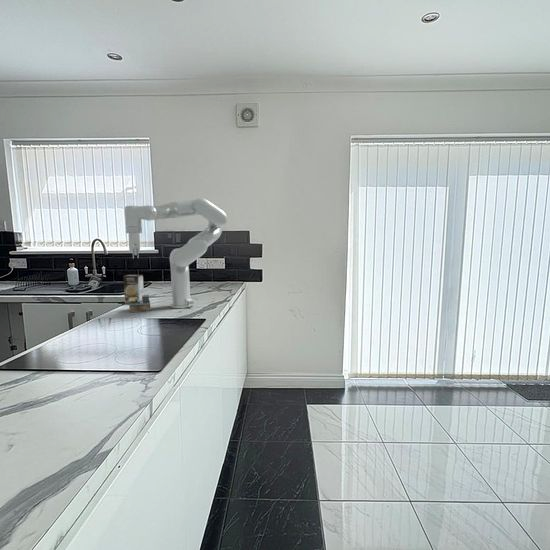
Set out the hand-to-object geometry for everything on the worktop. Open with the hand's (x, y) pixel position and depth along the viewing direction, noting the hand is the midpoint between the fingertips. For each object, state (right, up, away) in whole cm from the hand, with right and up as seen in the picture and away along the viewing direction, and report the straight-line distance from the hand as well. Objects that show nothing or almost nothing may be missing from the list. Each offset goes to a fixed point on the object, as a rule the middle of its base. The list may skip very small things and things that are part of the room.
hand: (136, 266), depth 179 cm
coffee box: (-10, -21, +21) cm, 31 cm away
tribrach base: (+1, -23, +3) cm, 23 cm away
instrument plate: (+1, -20, +3) cm, 20 cm away
